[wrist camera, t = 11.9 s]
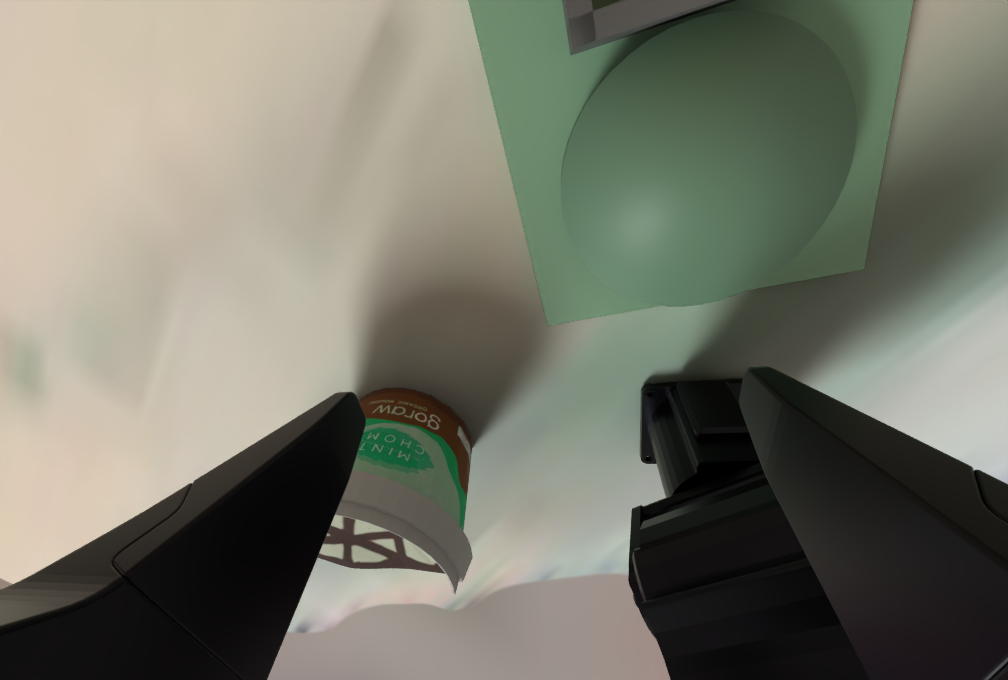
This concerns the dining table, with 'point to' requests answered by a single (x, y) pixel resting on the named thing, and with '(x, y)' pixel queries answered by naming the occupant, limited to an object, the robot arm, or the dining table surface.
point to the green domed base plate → (690, 141)
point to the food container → (405, 489)
